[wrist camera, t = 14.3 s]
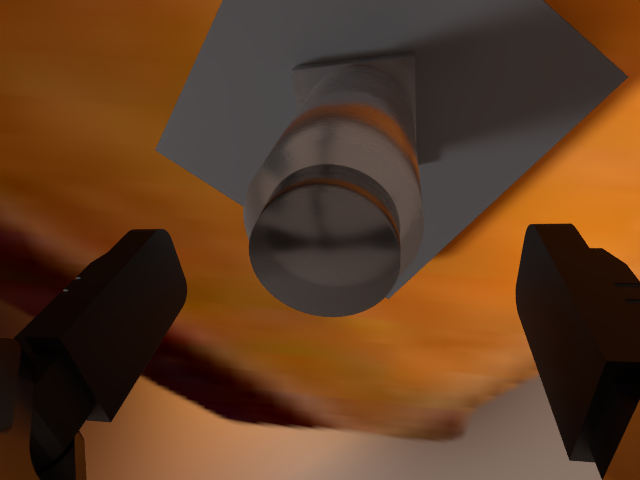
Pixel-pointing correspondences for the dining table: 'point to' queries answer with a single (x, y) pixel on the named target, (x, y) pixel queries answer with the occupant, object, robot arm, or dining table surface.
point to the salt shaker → (340, 188)
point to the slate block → (430, 82)
